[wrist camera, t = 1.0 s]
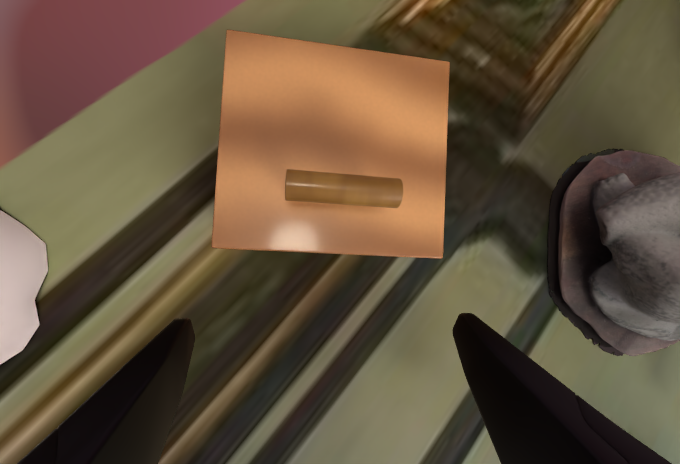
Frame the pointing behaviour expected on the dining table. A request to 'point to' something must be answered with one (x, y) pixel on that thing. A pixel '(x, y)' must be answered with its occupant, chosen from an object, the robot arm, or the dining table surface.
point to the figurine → (19, 284)
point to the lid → (330, 149)
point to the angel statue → (618, 250)
